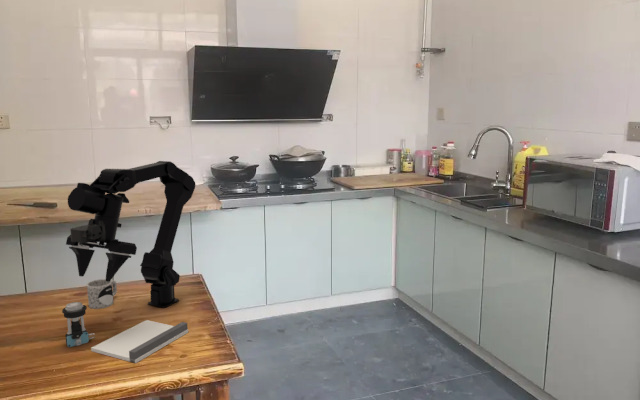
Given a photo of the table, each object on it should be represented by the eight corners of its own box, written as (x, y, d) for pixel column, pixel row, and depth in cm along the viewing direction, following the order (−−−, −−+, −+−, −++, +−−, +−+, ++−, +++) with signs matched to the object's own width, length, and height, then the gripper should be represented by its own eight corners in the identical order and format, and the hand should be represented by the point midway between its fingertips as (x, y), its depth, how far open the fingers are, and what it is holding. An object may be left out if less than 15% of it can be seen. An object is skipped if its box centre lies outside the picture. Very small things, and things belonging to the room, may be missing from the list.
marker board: (146, 322, 137) (146, 313, 137) (188, 332, 131) (187, 323, 131) (91, 350, 121) (90, 341, 121) (135, 363, 115) (135, 352, 115)
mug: (102, 310, 146) (100, 287, 145) (83, 307, 148) (81, 285, 147) (125, 298, 155) (124, 277, 154) (107, 295, 157) (106, 274, 156)
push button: (92, 335, 129) (89, 297, 128) (97, 343, 125) (94, 304, 123) (63, 342, 125) (59, 303, 124) (67, 350, 121) (64, 310, 120)
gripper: (54, 208, 127) (40, 271, 124) (109, 215, 119) (95, 282, 117) (90, 216, 137) (78, 274, 134) (143, 222, 129) (131, 284, 127)
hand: (94, 278), depth 128 cm, fingers open, 9 cm apart
